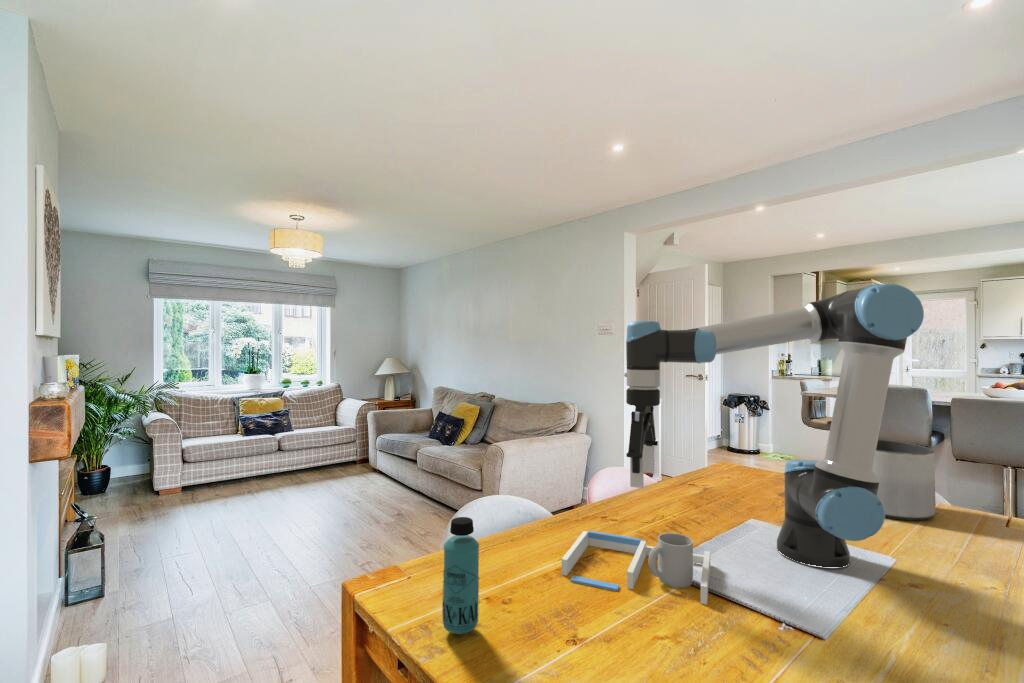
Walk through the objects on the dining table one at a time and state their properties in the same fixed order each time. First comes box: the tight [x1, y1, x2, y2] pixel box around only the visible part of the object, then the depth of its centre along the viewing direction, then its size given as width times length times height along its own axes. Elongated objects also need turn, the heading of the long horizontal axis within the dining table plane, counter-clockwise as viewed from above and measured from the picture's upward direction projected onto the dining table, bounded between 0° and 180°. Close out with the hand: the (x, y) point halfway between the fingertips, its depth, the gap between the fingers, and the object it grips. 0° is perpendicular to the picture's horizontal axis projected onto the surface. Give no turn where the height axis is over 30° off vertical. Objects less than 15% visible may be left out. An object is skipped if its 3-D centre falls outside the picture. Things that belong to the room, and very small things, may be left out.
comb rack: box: [561, 530, 711, 606], centre depth 109 cm, size 30×21×4 cm
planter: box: [872, 439, 937, 521], centre depth 152 cm, size 23×23×20 cm
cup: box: [648, 532, 694, 589], centre depth 105 cm, size 7×10×9 cm
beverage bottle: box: [441, 516, 480, 635], centre depth 86 cm, size 6×7×20 cm
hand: (642, 479), depth 112 cm, fingers open, 13 cm apart
